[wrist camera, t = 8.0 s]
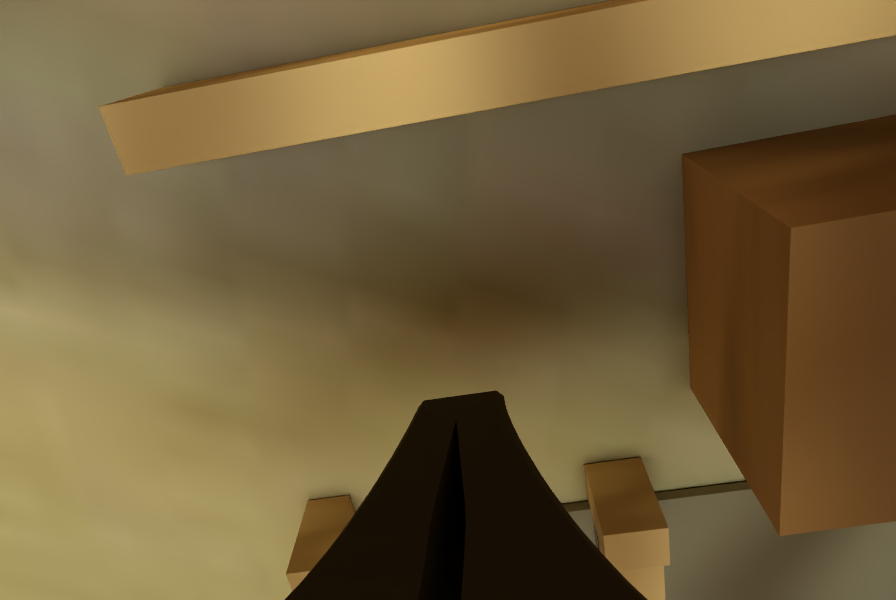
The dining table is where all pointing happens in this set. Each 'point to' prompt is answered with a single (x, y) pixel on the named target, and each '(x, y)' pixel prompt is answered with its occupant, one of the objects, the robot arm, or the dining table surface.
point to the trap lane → (519, 81)
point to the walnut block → (799, 317)
